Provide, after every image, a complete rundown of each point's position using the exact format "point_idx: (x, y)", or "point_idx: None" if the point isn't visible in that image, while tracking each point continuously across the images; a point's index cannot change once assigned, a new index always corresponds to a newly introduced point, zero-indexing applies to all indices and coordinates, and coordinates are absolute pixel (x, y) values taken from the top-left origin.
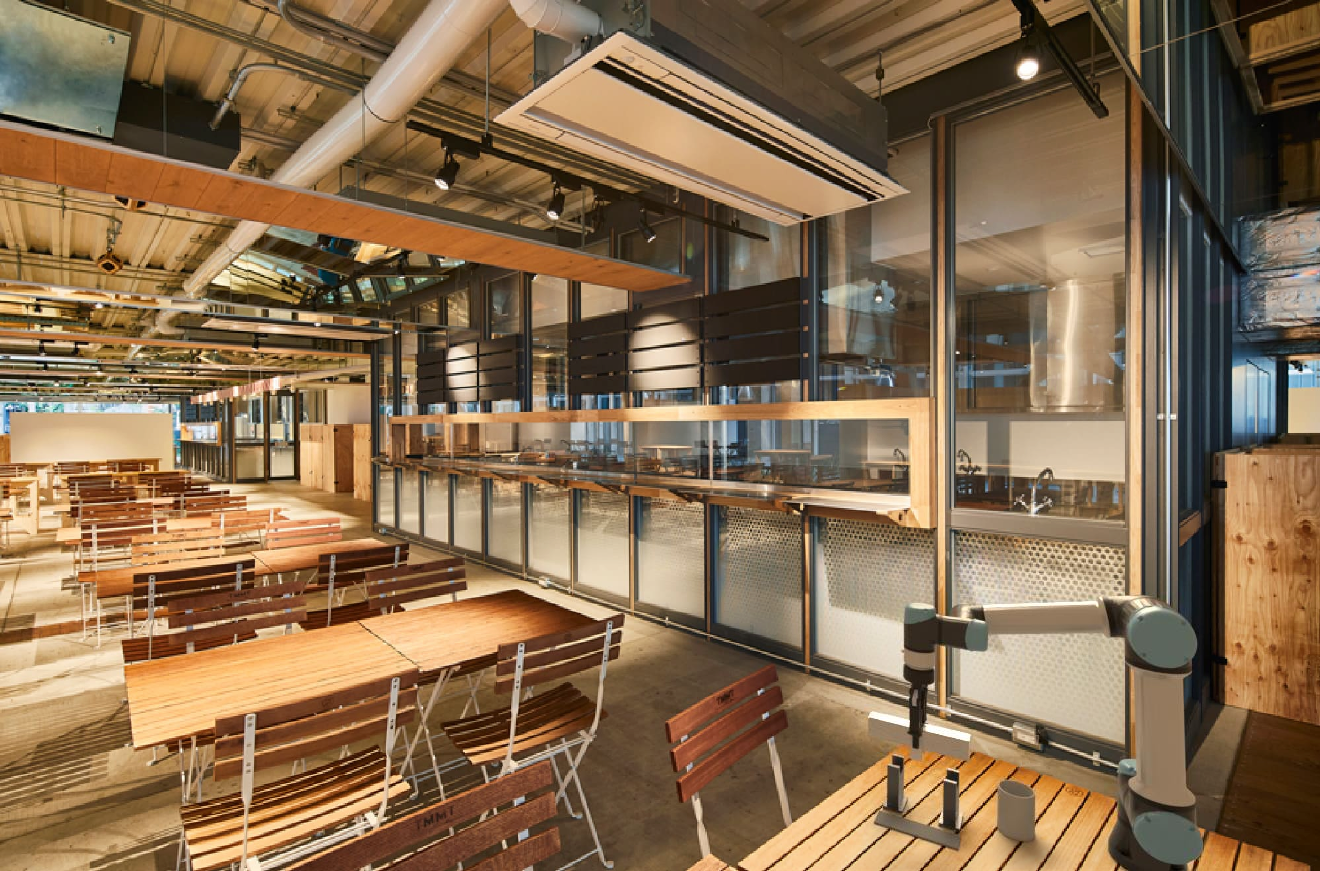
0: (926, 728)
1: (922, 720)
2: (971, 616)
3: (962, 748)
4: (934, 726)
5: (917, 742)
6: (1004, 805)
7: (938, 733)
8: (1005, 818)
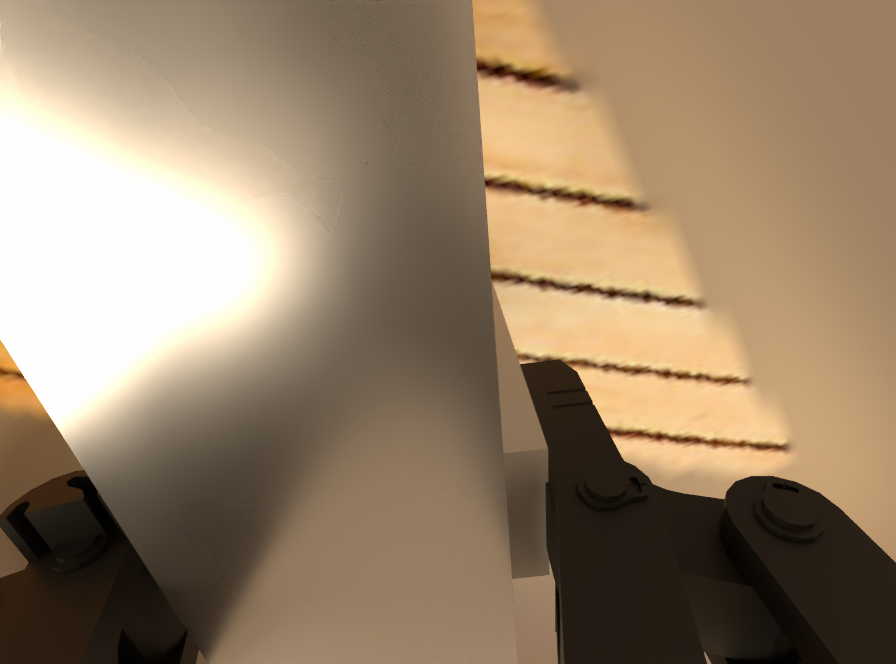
0: (372, 501)
1: (111, 660)
2: None
3: None
4: (78, 405)
5: (601, 423)
6: None
7: (463, 195)
8: None
